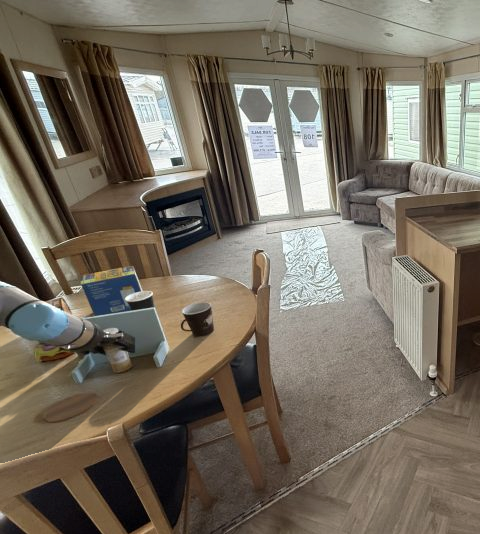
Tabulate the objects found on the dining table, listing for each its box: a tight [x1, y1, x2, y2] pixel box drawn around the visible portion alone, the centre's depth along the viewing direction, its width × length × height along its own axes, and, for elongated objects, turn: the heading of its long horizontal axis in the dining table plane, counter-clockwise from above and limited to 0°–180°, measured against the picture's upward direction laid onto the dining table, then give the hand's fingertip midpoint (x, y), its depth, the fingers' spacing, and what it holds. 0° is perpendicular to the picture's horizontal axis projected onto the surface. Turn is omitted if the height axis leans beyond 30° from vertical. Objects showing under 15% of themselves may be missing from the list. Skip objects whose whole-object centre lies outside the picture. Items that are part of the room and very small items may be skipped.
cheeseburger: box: [34, 342, 74, 363], centre depth 109 cm, size 10×11×10 cm
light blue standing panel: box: [70, 306, 170, 385], centre depth 102 cm, size 20×10×16 cm, turn 114°
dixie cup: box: [125, 290, 155, 311], centre depth 126 cm, size 8×8×11 cm
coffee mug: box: [180, 301, 215, 338], centre depth 119 cm, size 12×9×10 cm
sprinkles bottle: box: [103, 328, 133, 374], centre depth 101 cm, size 5×5×13 cm
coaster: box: [43, 391, 99, 423], centre depth 90 cm, size 10×10×1 cm
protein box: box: [80, 265, 143, 316], centre depth 133 cm, size 10×15×16 cm
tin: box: [51, 296, 73, 315], centre depth 125 cm, size 15×3×8 cm, turn 46°
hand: (123, 350), depth 105 cm, fingers closed on sprinkles bottle, 4 cm apart
